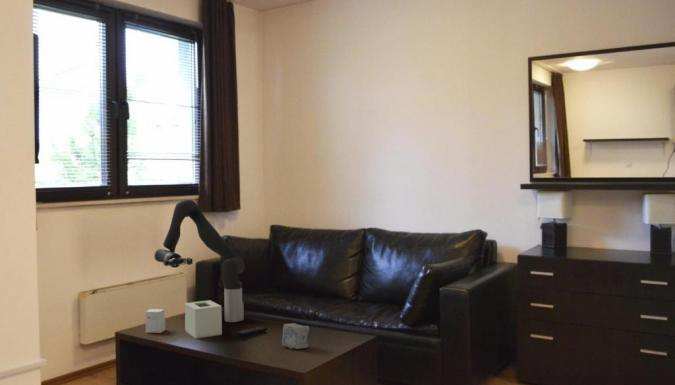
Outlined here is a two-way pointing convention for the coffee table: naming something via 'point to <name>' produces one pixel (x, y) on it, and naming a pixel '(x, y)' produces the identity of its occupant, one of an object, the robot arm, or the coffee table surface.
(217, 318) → the box
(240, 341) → the coffee table surface
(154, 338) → the coffee table surface
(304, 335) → the incense holder
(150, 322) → the small box
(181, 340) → the coffee table surface
